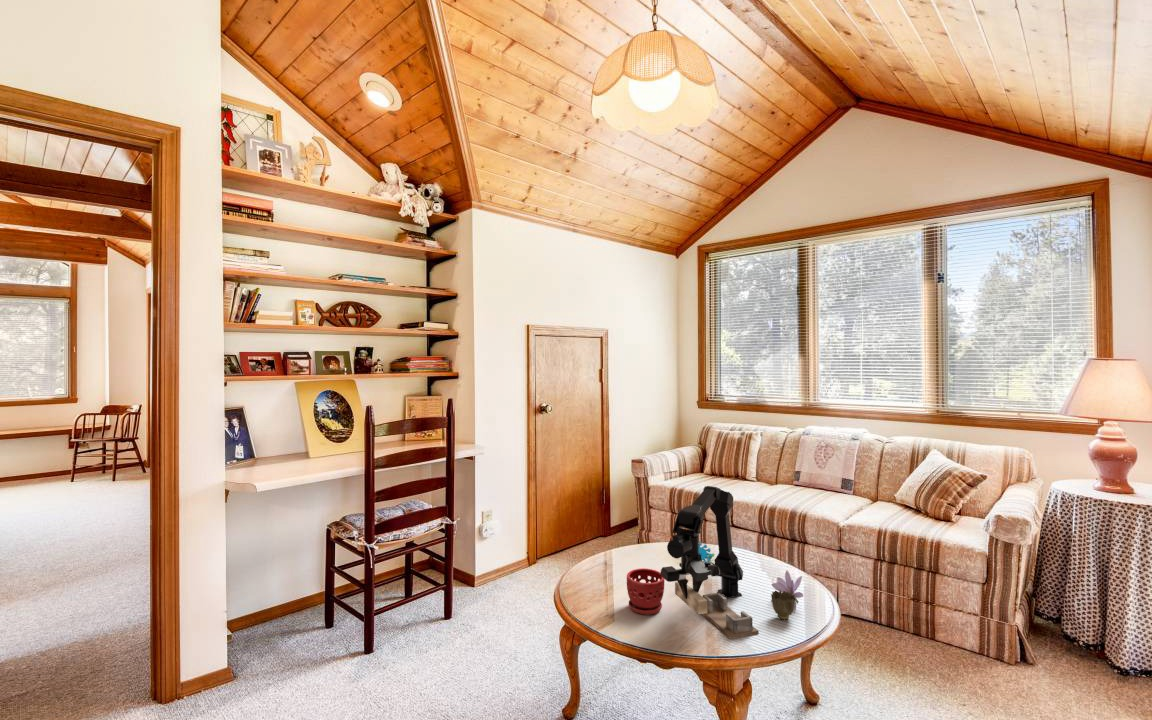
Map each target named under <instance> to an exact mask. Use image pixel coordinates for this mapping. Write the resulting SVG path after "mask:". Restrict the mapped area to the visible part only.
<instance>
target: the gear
mask: <svg viewBox="0 0 1152 720" xmlns="http://www.w3.org/2000/svg"><path fill="white" fill-rule="evenodd" d="M702 545H703V543H702V542H701V541H700V542H699V554H700V555H701V559H702V561H703V563H704V562H712V561H711V560H712V559H713V558H714V557H715V553H714V552H713V553H711V551H712V550H711V548H708V546H707V544H704V545H703V546H702Z"/></svg>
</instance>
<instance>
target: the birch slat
mask: <svg viewBox="0 0 1152 720" xmlns="http://www.w3.org/2000/svg"><path fill="white" fill-rule="evenodd" d="M674 594H675V596H677V597H678V598H679V599H680V600H681V601H683V603H685V604H686V605H687V606H689V607H690V608H691V609H692V610H693V611H694V612H695V613H696V614H698V615H703V614H705V613H707V600H706V599H705V598H704V597H703V595H701V594H700V593H699V592H698V593H697V592H696V591H695V590H694V589H693V587H691V586H690V585H689V584H687V599H685V598H684V595H683V593H682V590H681V588H680V585H679V583H678V581H674Z"/></svg>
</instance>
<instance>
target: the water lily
mask: <svg viewBox="0 0 1152 720" xmlns="http://www.w3.org/2000/svg"><path fill="white" fill-rule="evenodd" d="M784 578H785V579H783V578H782V577H780V576H778V577H776V582H773V583H771V587H772V588H773V590H775V591H778V592H779V591H781V593H783V592H784V591H785V592H788V593H789V594H790V593H791V594H792V595H793V594H794V596H795V601H794V609H793V612H792V613H796V612H797V611H796V610H797V604H798V603H799V600H798V599H800V598H803V597H804V594H803V592H801V591H797V590H798V588H799V587H800V585H801V582H802V579H803V576H801V575H800V576H798V578H796V580H795V582H794V580H793V579H792V577H791V574H790V572H789V571H788V570H786V571H785V575H784ZM770 602H772V599H771V600H770Z"/></svg>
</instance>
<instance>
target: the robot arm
mask: <svg viewBox="0 0 1152 720" xmlns="http://www.w3.org/2000/svg"><path fill="white" fill-rule="evenodd" d="M733 507H734V495H733V494H732V493H731V492H730V491H725V490H723V489H721V488H720V487H718V486H712V485H711V486H710V485H706V486H704V488H703V490H702V492H701V493H700V495H699V496H698V497H697V498H695V500H694V501H693V503H692V504H691V505H688V506H684V507H683V508H682V509H680V511H678V513H677V515H676V518H675V523H674V525H673V528H672V529H673V530H672V533H673V534H674V535H672V539H670V540H669V542H668V543H667V545H666V549H667V552H668V554H669V555H670V557H672V558H673V559H680V561H681V562H680V563H679V562H678V563H679V567H680V568H679V569H678V568H677V569H676V568H675V567H674V566H671V565H670V566H663V567H662V568H661V569H660V573H661V576H662V577H663V578H664V581H667V582H668V583H671V582H678V583H679V585H680V588H681V590H682V593H683V595H684V598H685V599H687V585H688V582H689V580H688V579H687V575H688V576H689V575H690V576H691V578H692V579H691V580H692V589H694V590H695V591H696V592H697V593H699V591H700V589H701V586H702V584H703V582H704V581H708V579H709V576H711V577H720V578H721V579H720V580H721V585H720V586H721V588H719V589H717V593H720V594H721V595H722V596H724V597H725V598H726V599H727V598H733V597H742V595H743V594H742V593H741V592H740V591H739V581H742V580H743V578H744V570H743V569H742V567H741V565H740V564H739V560H738V559H739V558H738V556H737V554H736V553H735V552H734V551H733V544H732V543H733V542H732V534H731V524H730V523H731V521H730V512H731V510H732V509H733ZM709 509H710V510H711V512H712V514H714V516H715V517H714V518H715V523H716V524H715V525H716V535H717V536H716V537H717V544H718V545H717V547H718V553H717V556H716V557H715V559H714V563H713V562H712V561H709V562H708V561H706V562H704V561H703V560H702V559H701V555H700V554H699V540H700V536H699V535H700V534H701V532H702V531H701V529H702V526H703V523H704V516H705V514H706V513H707V512H708V510H709Z"/></svg>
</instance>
